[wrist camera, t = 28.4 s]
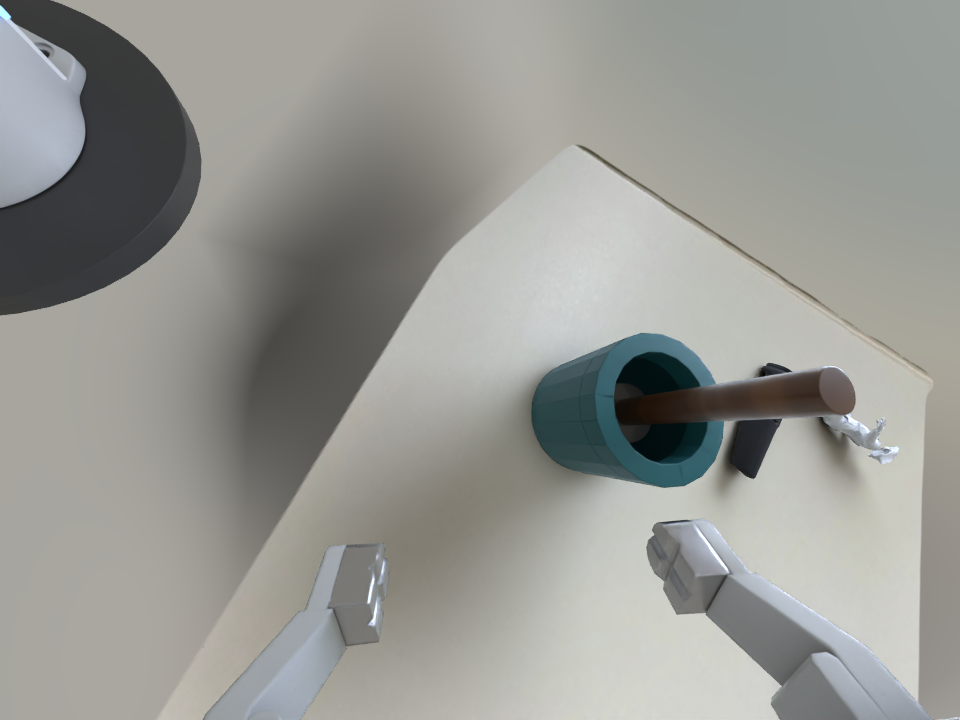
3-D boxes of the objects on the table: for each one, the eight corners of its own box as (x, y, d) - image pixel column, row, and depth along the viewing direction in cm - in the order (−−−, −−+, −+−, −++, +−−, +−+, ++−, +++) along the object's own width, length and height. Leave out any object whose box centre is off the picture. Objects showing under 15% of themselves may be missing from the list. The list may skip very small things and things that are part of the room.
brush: (555, 422, 33) (781, 403, 14) (578, 381, 34) (809, 314, 15) (595, 452, 33) (868, 472, 14) (616, 410, 35) (886, 379, 16)
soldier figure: (801, 367, 46) (898, 425, 43) (772, 394, 48) (862, 451, 44) (829, 380, 39) (946, 449, 36) (793, 411, 41) (901, 479, 38)
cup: (511, 429, 32) (568, 426, 22) (564, 342, 36) (634, 304, 26) (599, 493, 33) (694, 519, 23) (642, 403, 37) (741, 390, 27)
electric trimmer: (713, 461, 38) (740, 464, 35) (761, 361, 43) (789, 356, 40) (736, 483, 38) (766, 487, 35) (782, 381, 43) (811, 377, 40)
